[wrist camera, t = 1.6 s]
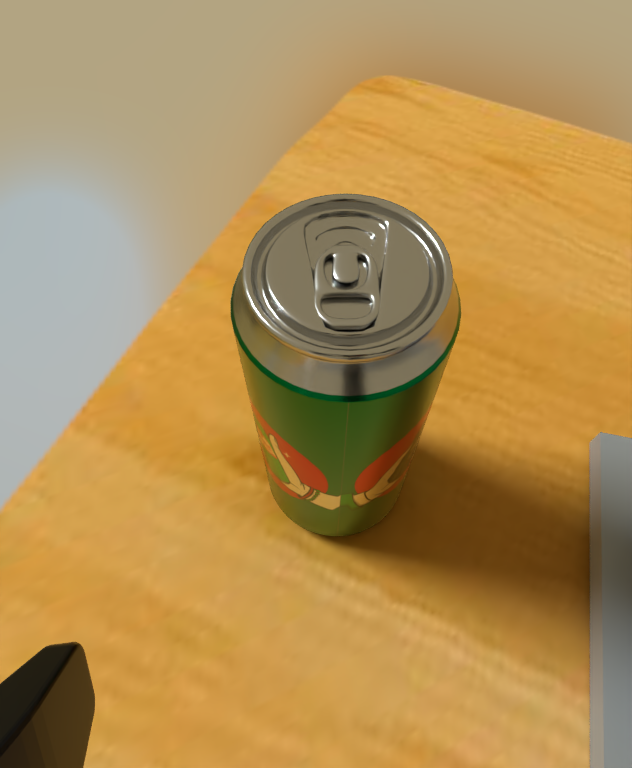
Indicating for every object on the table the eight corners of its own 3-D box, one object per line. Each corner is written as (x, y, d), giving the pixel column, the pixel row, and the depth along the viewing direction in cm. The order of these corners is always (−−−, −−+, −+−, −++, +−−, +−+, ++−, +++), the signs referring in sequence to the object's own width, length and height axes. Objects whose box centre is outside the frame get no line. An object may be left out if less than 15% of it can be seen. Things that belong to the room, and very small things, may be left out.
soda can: (396, 415, 23) (456, 179, 13) (406, 540, 21) (490, 373, 10) (271, 415, 23) (231, 181, 13) (267, 541, 21) (212, 375, 11)
